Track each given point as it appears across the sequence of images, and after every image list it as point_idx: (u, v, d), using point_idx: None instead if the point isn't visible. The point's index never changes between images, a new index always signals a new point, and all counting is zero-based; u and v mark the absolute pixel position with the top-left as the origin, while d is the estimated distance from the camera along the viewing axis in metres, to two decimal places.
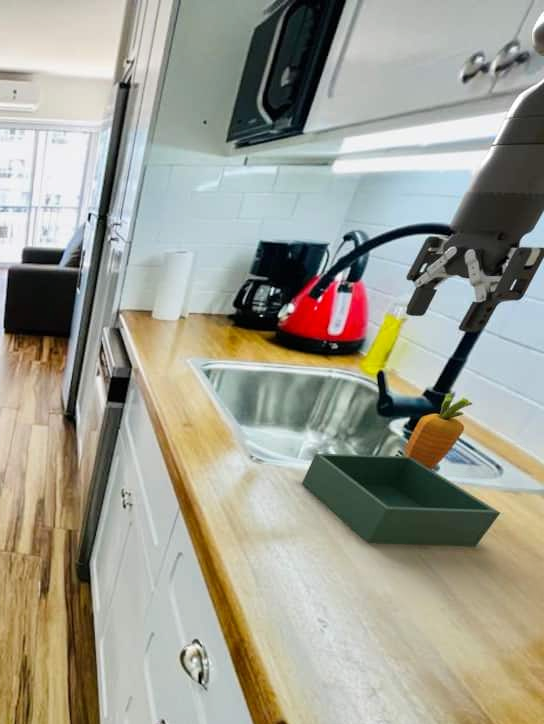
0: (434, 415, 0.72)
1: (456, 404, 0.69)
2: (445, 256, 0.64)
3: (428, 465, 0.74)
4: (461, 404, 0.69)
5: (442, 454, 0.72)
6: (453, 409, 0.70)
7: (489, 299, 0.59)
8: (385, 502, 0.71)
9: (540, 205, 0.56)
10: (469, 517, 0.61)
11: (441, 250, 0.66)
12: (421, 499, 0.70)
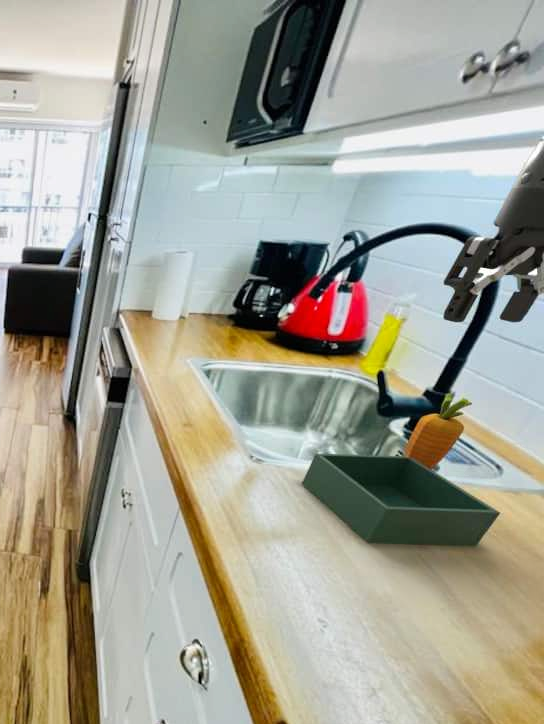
0: (434, 415, 0.72)
1: (456, 404, 0.69)
2: None
3: (428, 465, 0.74)
4: (461, 404, 0.69)
5: (442, 454, 0.72)
6: (453, 409, 0.70)
7: None
8: (385, 502, 0.71)
9: (531, 199, 0.57)
10: (469, 517, 0.61)
11: None
12: (421, 499, 0.70)
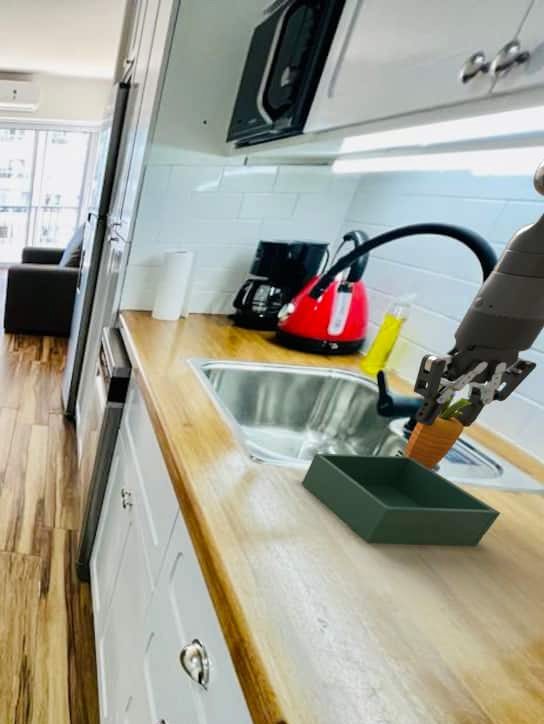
0: None
1: (455, 404, 0.69)
2: None
3: (428, 465, 0.74)
4: (460, 404, 0.69)
5: (442, 454, 0.72)
6: (452, 409, 0.70)
7: None
8: (385, 502, 0.71)
9: (481, 322, 0.64)
10: (469, 517, 0.61)
11: None
12: (421, 499, 0.70)
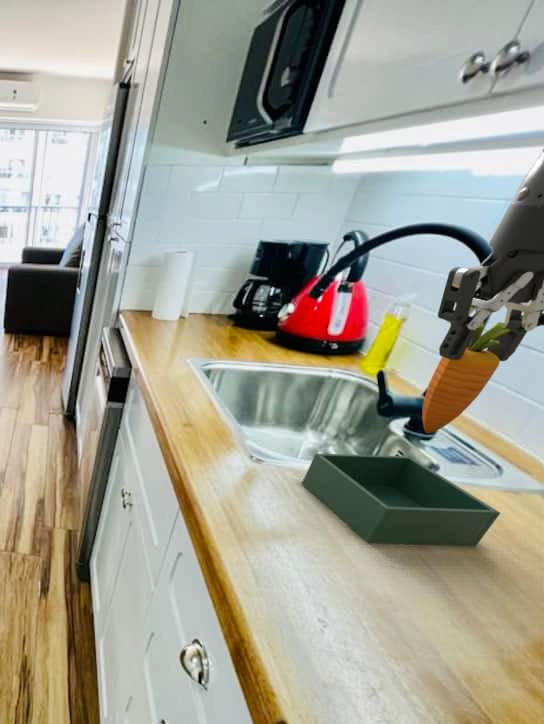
0: None
1: (490, 331, 0.56)
2: None
3: (454, 411, 0.60)
4: (497, 330, 0.55)
5: (472, 396, 0.59)
6: (486, 337, 0.56)
7: None
8: (385, 502, 0.71)
9: (526, 218, 0.50)
10: (469, 517, 0.61)
11: None
12: (421, 499, 0.70)
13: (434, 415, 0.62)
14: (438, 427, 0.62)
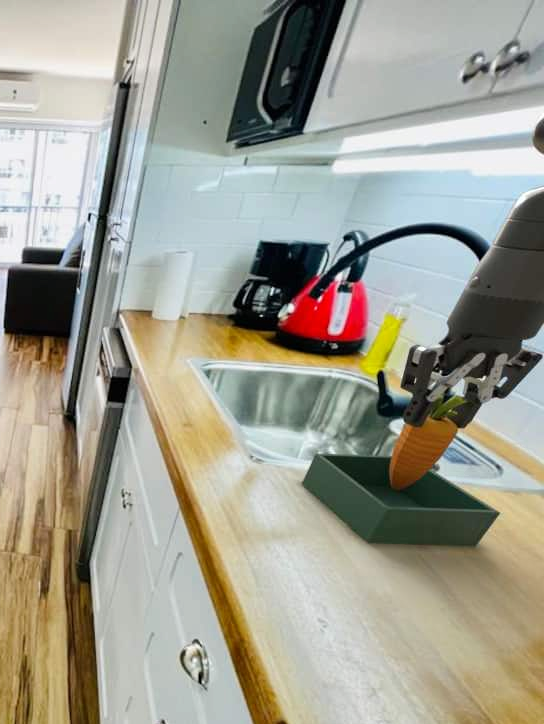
0: None
1: (448, 402, 0.60)
2: None
3: (417, 472, 0.64)
4: (454, 402, 0.59)
5: (433, 460, 0.63)
6: (445, 408, 0.60)
7: None
8: (385, 502, 0.71)
9: (477, 305, 0.54)
10: (469, 517, 0.61)
11: None
12: (421, 499, 0.70)
13: (399, 475, 0.66)
14: (404, 486, 0.66)
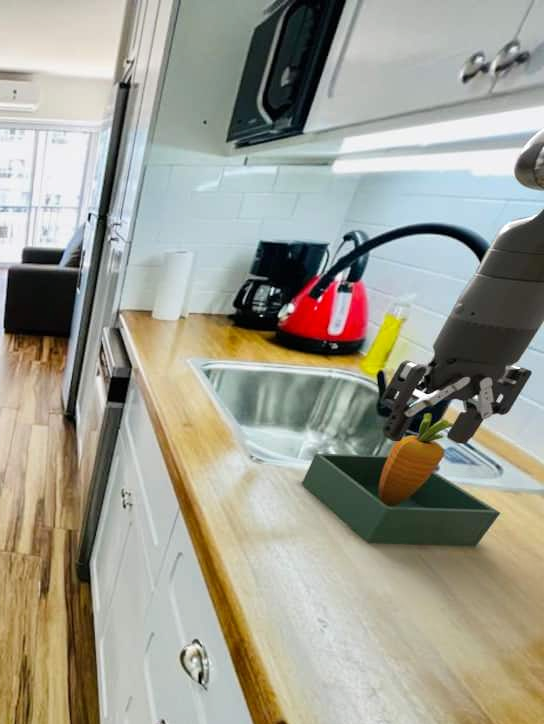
0: (411, 437, 0.65)
1: (435, 426, 0.62)
2: None
3: (405, 493, 0.66)
4: (441, 426, 0.61)
5: (421, 481, 0.64)
6: (432, 431, 0.62)
7: None
8: None
9: (462, 331, 0.56)
10: (469, 517, 0.61)
11: None
12: (421, 499, 0.70)
13: (388, 495, 0.67)
14: (392, 505, 0.68)
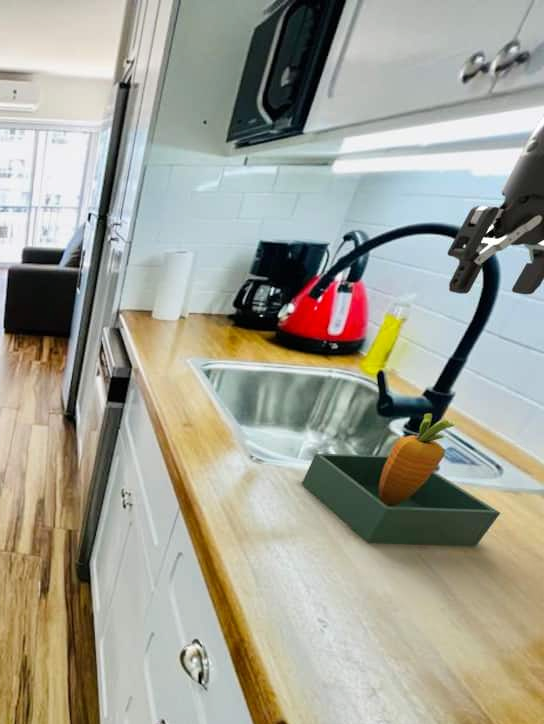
0: (412, 437, 0.65)
1: (435, 426, 0.62)
2: None
3: (405, 493, 0.66)
4: (441, 426, 0.61)
5: (421, 481, 0.64)
6: (432, 431, 0.62)
7: None
8: None
9: (536, 166, 0.57)
10: (469, 517, 0.61)
11: None
12: (421, 499, 0.70)
13: (388, 495, 0.67)
14: (392, 505, 0.68)
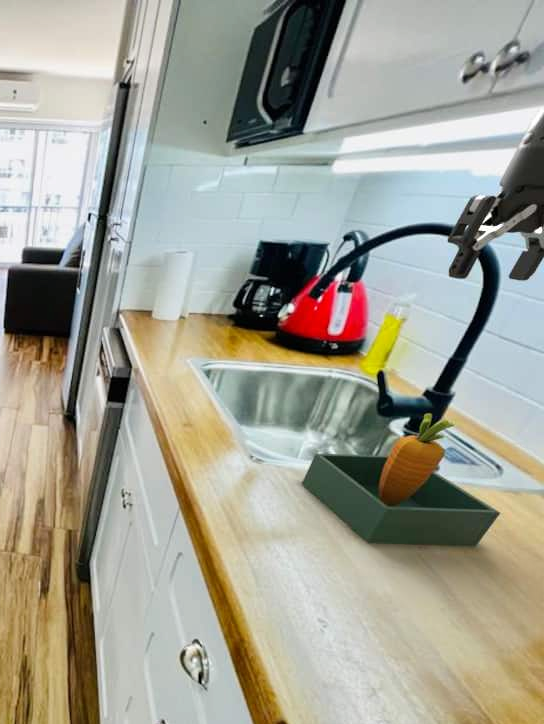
0: (412, 437, 0.65)
1: (435, 426, 0.62)
2: None
3: (405, 493, 0.66)
4: (441, 426, 0.61)
5: (421, 481, 0.64)
6: (432, 431, 0.62)
7: None
8: None
9: (531, 158, 0.61)
10: (469, 517, 0.61)
11: None
12: (421, 499, 0.70)
13: (388, 495, 0.67)
14: (392, 505, 0.68)
